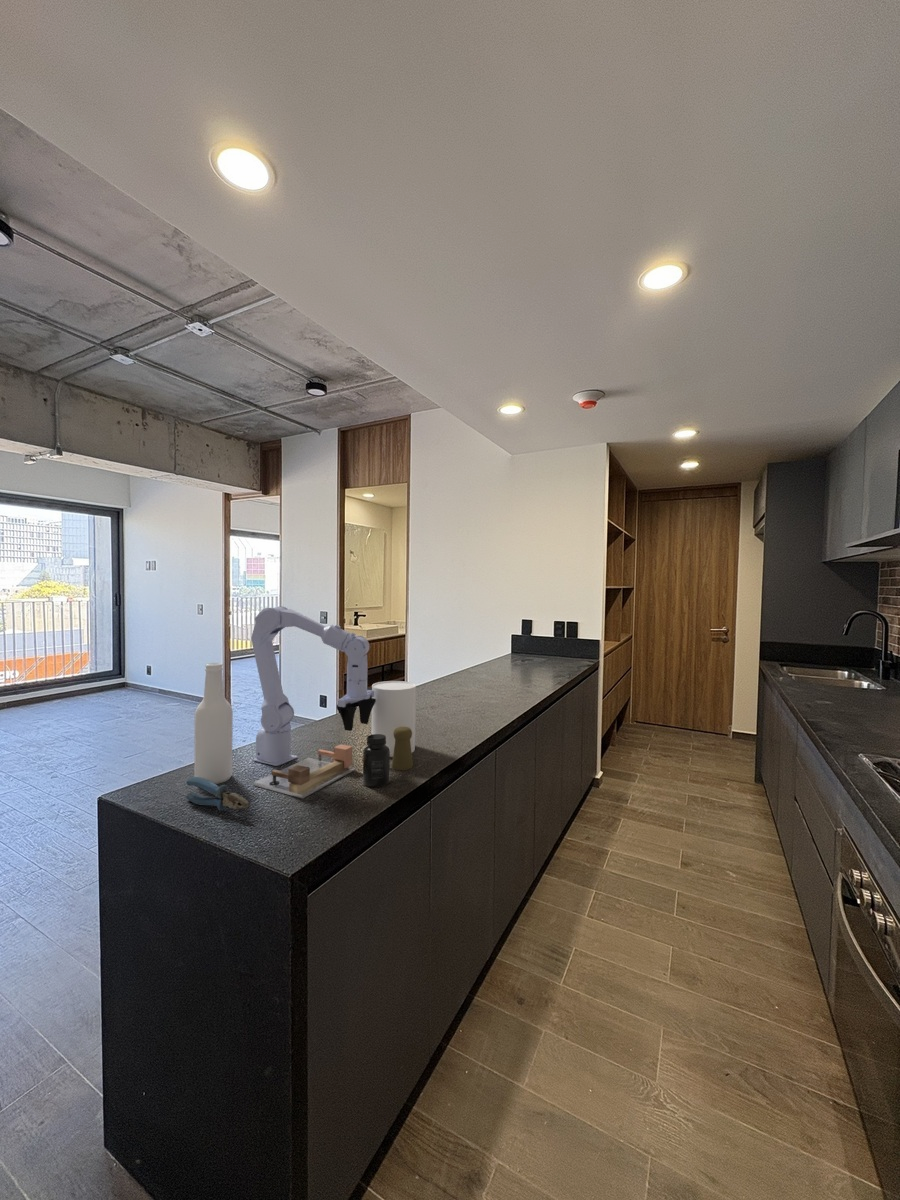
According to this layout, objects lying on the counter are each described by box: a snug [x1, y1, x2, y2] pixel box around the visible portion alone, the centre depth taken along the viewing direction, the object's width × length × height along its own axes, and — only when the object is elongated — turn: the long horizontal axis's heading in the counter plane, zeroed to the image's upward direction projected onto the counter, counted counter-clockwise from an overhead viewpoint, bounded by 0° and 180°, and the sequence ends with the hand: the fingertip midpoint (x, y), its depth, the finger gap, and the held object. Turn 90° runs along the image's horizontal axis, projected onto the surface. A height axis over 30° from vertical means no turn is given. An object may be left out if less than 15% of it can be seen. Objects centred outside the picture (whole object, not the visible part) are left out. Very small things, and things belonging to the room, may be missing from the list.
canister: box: [370, 680, 417, 758], centre depth 151 cm, size 14×14×20 cm
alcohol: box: [193, 662, 234, 785], centre depth 125 cm, size 9×9×30 cm
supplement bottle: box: [362, 734, 391, 788], centre depth 126 cm, size 7×7×12 cm
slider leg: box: [317, 743, 353, 768], centre depth 135 cm, size 10×3×5 cm, turn 64°
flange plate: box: [253, 757, 355, 799], centre depth 128 cm, size 16×20×1 cm
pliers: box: [186, 776, 250, 811], centre depth 109 cm, size 20×2×6 cm, turn 62°
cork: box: [391, 727, 414, 771], centre depth 137 cm, size 6×6×11 cm
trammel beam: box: [270, 760, 345, 794], centre depth 127 cm, size 10×20×5 cm, turn 154°
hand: (356, 726), depth 139 cm, fingers open, 7 cm apart
